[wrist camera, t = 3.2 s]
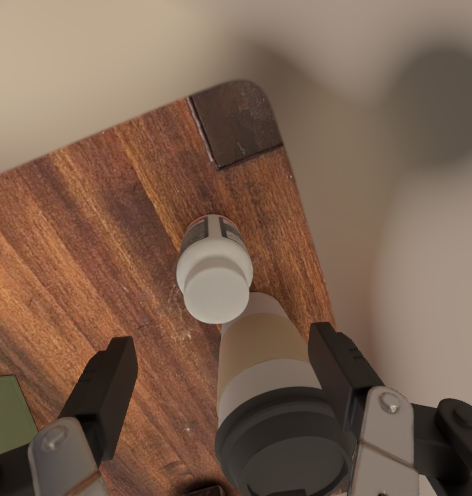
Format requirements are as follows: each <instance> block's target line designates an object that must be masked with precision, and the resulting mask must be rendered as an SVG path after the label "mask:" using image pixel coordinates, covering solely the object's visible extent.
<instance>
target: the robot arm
mask: <svg viewBox="0 0 472 496" xmlns="http://www.w3.org/2000/svg"><path fill="white" fill-rule="evenodd" d="M308 358H309V361H310V364H311V366H312V368H313V371H314V373H315V375H316V377H317V379H318V381H319V383H320V385H321V388H322V390H323V392H324V394H325V396H326V398H327V400H328V403H329V405H330V407H331V409H332V411H333V413H334V415H335V418H336V420H337V422H338V424H339V426H340V428H341V430H342V432H343V434H350V433H354V435H355V437H356V439H357V444H356V449H355V454H354V459H353V465H352V470H351V475H350V481H349V486H348V491H347V496H419V474H421V475H425V476H426V477H427V479H428V481H429V482H430V484H431V486H432V487H433V489H434V491H435V492H436V494H437V496H472V406H471V405H469V404H467V403H465V402H463V401H460V400H457V399H451V398H448V399H443V400H441V401H440V402H439V405H438V407H437V408H433V407H428V406H422V405H417V404H413V403H410V402H409V401H408V400H407V399H406V397H404V396H403V395H402V394H401V393H399V392H398V391H396V390H394V389H392V388H389V387H386V386H385V385H384V383H383V382H382V381H381V379H380V378H379V377H378V375H377V374H376V372H375V371H374V370H373V368H372V367H371V366H370V364H369V363H368V362H367V361H366V359H365V358H364V357H363V355H362V353H361V352H360V351H359V350H358V348H357V347H356V345H355V344H354V343H353V341H352V340H351V339H350V338H349V337H347V336H346V335H344V334H343V333H341V332H337V333H336V332H335V330H334V329H333V327H332V326H331V324H330V323H329V322H317V323H311V325H310V332H309V342H308ZM137 374H138V363H137V357H136V352H135V347H134V342H133V338H132V336H126V337H113V338H112V339H111V341H110V343H109V345H108V347H107V349H106V350H105V351H99V352H98V353H97V354H95V355H94V356H93V357H92V358H91V359H90V360H89V362H88V363H87V365H86V367H85V369H84V371H83V374H81V376H80V378H79V380H78V383H77V384H76V385H75V387H74V389H73V391H72V393H71V395H70V396H69V398H68V400H67V402H66V404H65V406H64V407H63V409H62V411H61V413H60V415H59V417H58V418H57V420H54V421H53V422H51V423H49V424H47V425H46V426H45V427H43V428H42V429H41V430H40V431H39V432H38V433H37V434H36V435H35V436H34V438H33V439H32V441H31V442H30V443H28V444H25V445H23V446H20V447H18V448H15V449H12V450H10V451H7V452H4V453H2V454H0V496H110V494H109V492H108V489H107V487H106V484H105V482H104V479H103V477H102V475H101V472H100V471H99V470H98V469H99V466H100V463H101V461H105V460H112V459H113V455H114V452H115V449H116V446H117V442H118V439H119V436H120V432H121V429H122V426H123V422H124V419H125V416H126V412H127V409H128V406H129V402H130V399H131V396H132V392H133V389H134V386H135V382H136V379H137ZM267 496H307V495H306V491H305V488H304V489H297V490H289V491H281V492H274V493H271V494H269V495H267Z"/></svg>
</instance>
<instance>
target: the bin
mask: <svg viewBox="0 0 472 496" xmlns="http://www.w3.org/2000/svg"><path fill="white" fill-rule="evenodd" d="M37 433H38V430H37V428H36V425H35V423H34V420H33V418H32V416H31V413H30V411H29V408H28V406H27V404H26V401H25V399H24V396H23V394H22V392H21V389H20V387H19V384H18V382H17V380H16V377H15V375H11V376H0V454H2V453H4V452H7V451H10V450H12V449H15V448H18V447H20V446H23V445H25V444H28V443H30V442H31V441H32V439H33V438H34V436H35V435H36V434H37Z"/></svg>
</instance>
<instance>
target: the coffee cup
mask: <svg viewBox="0 0 472 496" xmlns="http://www.w3.org/2000/svg"><path fill="white" fill-rule="evenodd" d="M217 415H218V418H219V429H218V432H217V434H216V438H215V453H216V456H217V459H218V461H219V462H220V464H221V468H222V471H223V474H224V475H225V477H226V479H227V480H228V481H229V482H230V483H231V484H232V485H233V486H234V487H235V488H237V489H238V490H240V492H241V494H242V495H243V496H267V495H269V494H271V493H274V492H281V491H289V490H297V489H304V488H305V491H306V495H307V496H330V495H331V494H333V493H334V492H335V491H336V490H337V489H338V488H339V487H340V486H341V485H342V484H343V482H346V481H350V475H351V470H352V465H353V460H352V457H353V454H354V451H355V447H356V437H355V435H354V433H350V434H343V432H342V430H341V428H340V426H339V424H338V422H337V420H336V418H335V415H334V413H333V411H332V409H331V407H330V405H329V403H328V400H327V398H326V396H325V394H324V392H323V390H322V388H321V385H320V383H319V381H318V379H317V377H316V375H315V373H314V371H313V368H312V366H311V364H310V361H309V358H308V345H307V344H306V342H305V341H304V339H303V338H302V336H301V335H300V333H299V332H298V330H297V328H296V327H295V326H294V324H293V323H292V322H291V321H290V319H289V318H288V316H287V315H286V313H285V311H284V310H283V308H282V307H281V305H280V303H279V302H278V301H277V300H276V299H275V298H273V297H272V296H270V295H268V294H265V293H261V292H250V293H249V300H248V304H247V306H246V308H245V309H244V311H243V312H242V313H241V314H240V315H239V316H238V317H236V318H235V319H233V320H231V321H229V322H226V323H222V335H221V343H220V353H219V373H218V392H217Z"/></svg>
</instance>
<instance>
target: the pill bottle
mask: <svg viewBox="0 0 472 496" xmlns="http://www.w3.org/2000/svg"><path fill="white" fill-rule="evenodd" d="M176 276H177V282H178V286H179V288H180V290H181V292H182V293H183V294H184V302H185V305H186V308H187V310H188V311H189V312H190V314H191V315H192V316H193V317H195V318H196V319H198V320H200V321H202V322H205V323H209V324H221V323H226V322H229V321H231V320H233V319H235V318H236V317H238V316H239V315H240V314H241V313H242V312H243V311H244V309H245V308H246V306H247V304H248V300H249V287H250V285H251V282H252V279H253V266H252V262H251V259H250V256H249V254H248V252H247V249H246V247H245V244H244V241H243V239H242V236H241V234H240V232H239V230H238V228H237V226H236V225H235V224H234V223H233V222H232V221H231V220H229V219H228V218H226V217H224V216H221V215H216V214H211V215H204V216H201V217H199V218H197V219H196V220H194V221H193V222H192V223H191V224H190V225H189V226H188V228H187V230H186V232H185V234H184V237H183V241H182V246H181V251H180V255H179V260H178V264H177V271H176Z"/></svg>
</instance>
